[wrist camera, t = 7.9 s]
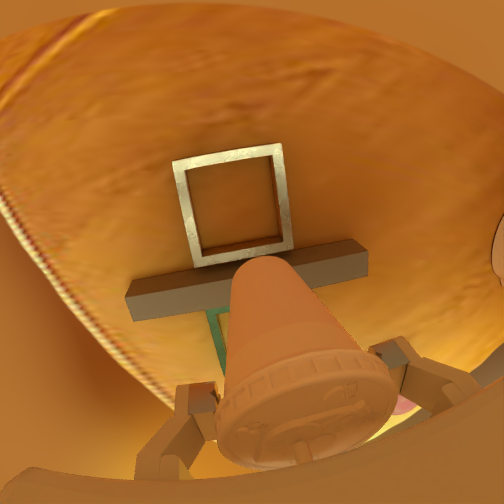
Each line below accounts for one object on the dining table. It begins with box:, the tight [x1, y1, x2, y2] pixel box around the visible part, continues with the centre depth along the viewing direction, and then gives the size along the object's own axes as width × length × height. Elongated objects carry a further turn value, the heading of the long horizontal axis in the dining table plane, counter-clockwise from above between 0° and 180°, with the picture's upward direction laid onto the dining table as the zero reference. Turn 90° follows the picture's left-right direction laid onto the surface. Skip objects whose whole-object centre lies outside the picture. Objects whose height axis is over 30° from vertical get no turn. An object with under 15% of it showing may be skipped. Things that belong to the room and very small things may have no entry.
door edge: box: [125, 239, 368, 322], centre depth 33 cm, size 26×3×4 cm, turn 98°
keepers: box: [172, 143, 294, 377], centre depth 34 cm, size 10×27×2 cm, turn 8°
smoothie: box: [214, 256, 398, 471], centre depth 11 cm, size 6×6×14 cm
